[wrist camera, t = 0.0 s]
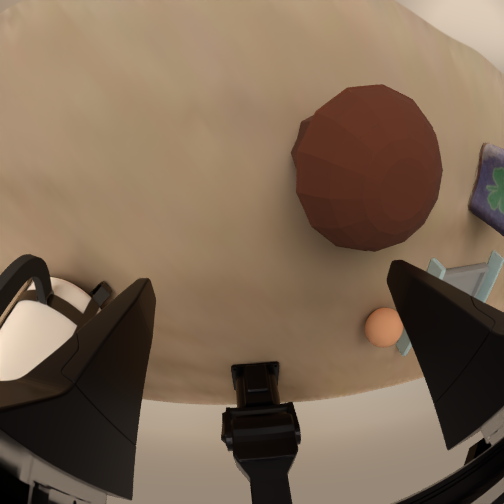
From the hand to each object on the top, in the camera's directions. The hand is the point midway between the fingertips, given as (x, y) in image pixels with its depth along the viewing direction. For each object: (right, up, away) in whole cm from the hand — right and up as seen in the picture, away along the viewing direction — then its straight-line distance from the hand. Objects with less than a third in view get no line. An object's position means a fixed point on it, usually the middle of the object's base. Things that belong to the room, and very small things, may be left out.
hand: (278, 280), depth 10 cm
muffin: (+7, +10, +12) cm, 17 cm away
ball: (+15, -8, +21) cm, 27 cm away
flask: (+27, +10, +14) cm, 32 cm away
